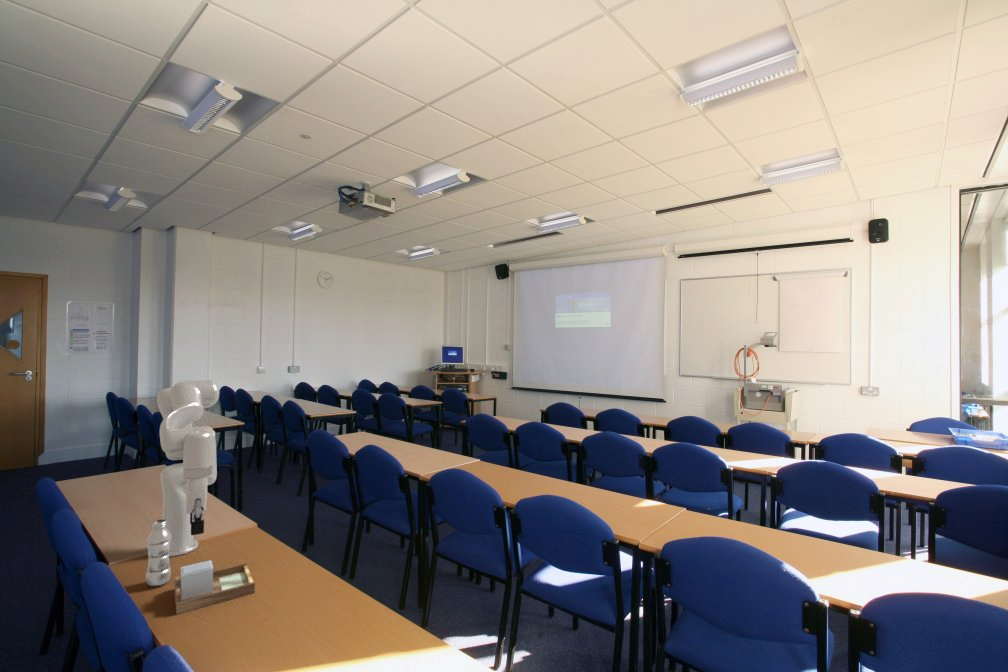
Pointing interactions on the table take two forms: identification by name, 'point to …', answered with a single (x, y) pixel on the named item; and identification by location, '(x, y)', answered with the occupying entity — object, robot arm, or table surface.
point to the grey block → (196, 580)
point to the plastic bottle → (158, 554)
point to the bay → (218, 588)
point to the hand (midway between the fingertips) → (196, 528)
